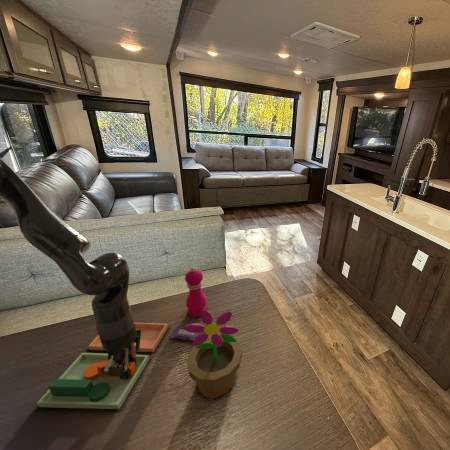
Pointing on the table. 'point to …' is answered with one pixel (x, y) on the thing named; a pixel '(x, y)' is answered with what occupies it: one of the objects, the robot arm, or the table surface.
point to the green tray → (76, 371)
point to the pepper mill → (195, 293)
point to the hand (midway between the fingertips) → (129, 372)
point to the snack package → (184, 334)
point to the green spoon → (79, 389)
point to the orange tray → (148, 339)
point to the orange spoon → (95, 372)
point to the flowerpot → (214, 355)
